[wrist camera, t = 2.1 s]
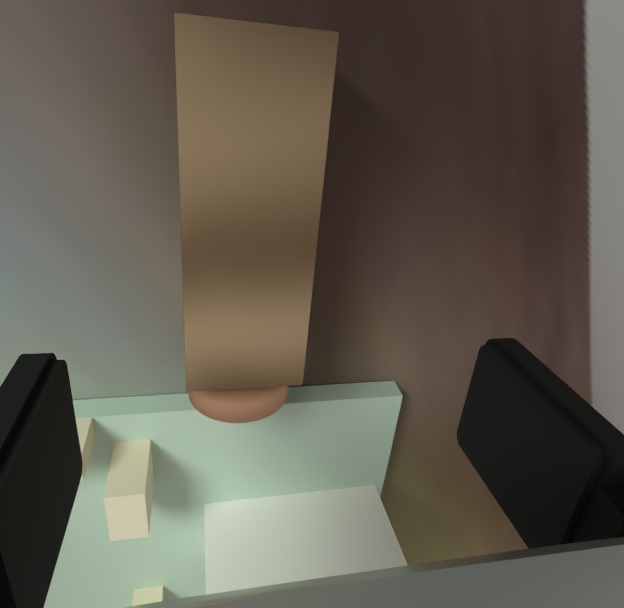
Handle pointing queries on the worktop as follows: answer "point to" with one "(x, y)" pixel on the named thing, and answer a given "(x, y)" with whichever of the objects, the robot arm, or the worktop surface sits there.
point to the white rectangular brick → (297, 538)
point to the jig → (201, 481)
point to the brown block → (249, 205)
